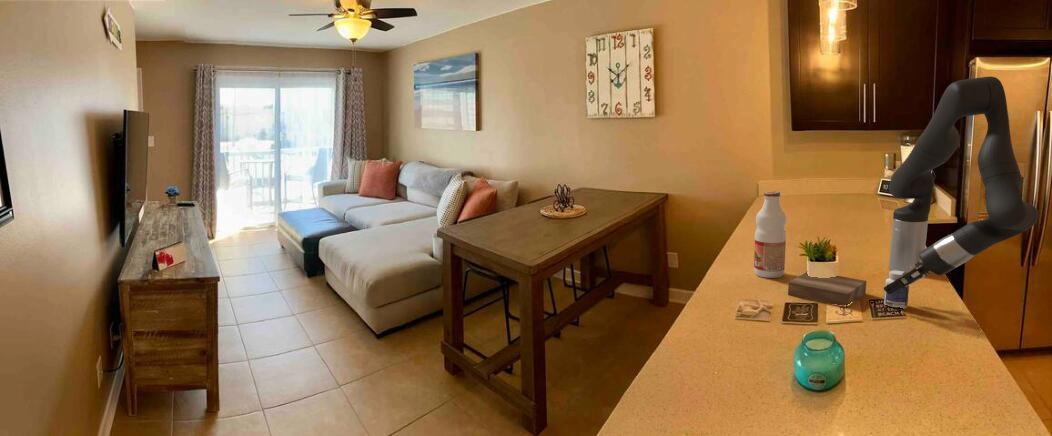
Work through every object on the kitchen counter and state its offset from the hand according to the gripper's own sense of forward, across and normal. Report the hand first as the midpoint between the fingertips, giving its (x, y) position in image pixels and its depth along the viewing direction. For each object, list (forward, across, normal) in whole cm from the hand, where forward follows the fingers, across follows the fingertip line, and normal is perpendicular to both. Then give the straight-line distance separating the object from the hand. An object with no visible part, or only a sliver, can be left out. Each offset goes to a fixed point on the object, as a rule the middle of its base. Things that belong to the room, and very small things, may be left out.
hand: (891, 287), depth 148 cm
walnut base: (+15, +2, -7) cm, 17 cm away
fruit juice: (+30, -6, -22) cm, 37 cm away
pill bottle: (+3, 0, +5) cm, 6 cm away
